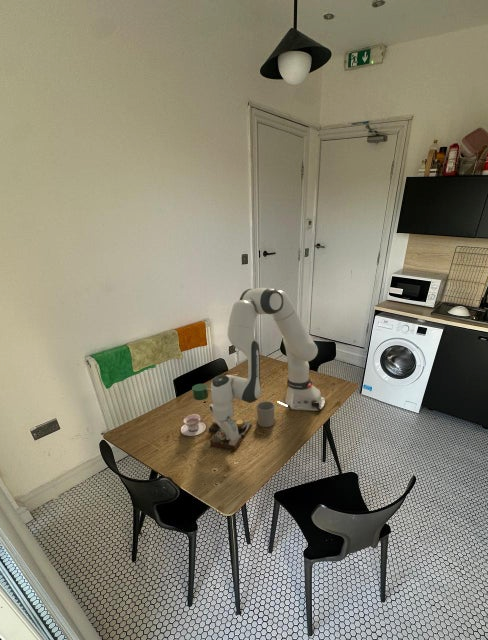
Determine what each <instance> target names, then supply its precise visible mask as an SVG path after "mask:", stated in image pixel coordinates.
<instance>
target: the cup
mask: <svg viewBox="0 0 488 640" xmlns="http://www.w3.org/2000/svg"><path fill="white" fill-rule="evenodd" d="M256 411H257V412H256V413H257V415H256V416H257V425H258V426H260V427H263V428H269V427H272V426H273V425H274V424H275V404H274V403H273V402H271V401H267V400H265V401H260V402H259V403H257V405H256Z"/></svg>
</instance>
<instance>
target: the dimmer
mask: <svg viewBox="0 0 488 640" xmlns="http://www.w3.org/2000/svg"><path fill="white" fill-rule="evenodd" d="M221 432H222V431H217V432H215V434H214V435H213V436H212V438H211V439H210V440H209V444H210V447H214V448H220V449H224V450H229V451H233V452H236V450H237V448H238V447H239V445H240V444H241V443H242V441H243V437H242V435H239V438H238V439H236V440H233V441H231V440H230V439H229V440H227V439H224V440H221V439H220V433H221Z"/></svg>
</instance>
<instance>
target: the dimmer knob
mask: <svg viewBox="0 0 488 640" xmlns="http://www.w3.org/2000/svg"><path fill="white" fill-rule="evenodd" d="M225 436H226V434H225V433H224V432H221V433H220V439H221V440H224V439H226V438H225Z"/></svg>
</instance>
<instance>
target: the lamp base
mask: <svg viewBox="0 0 488 640" xmlns="http://www.w3.org/2000/svg"><path fill="white" fill-rule="evenodd" d="M232 420H233V421H234V422H235V423H236V421H237V420H236V419H232ZM242 421H243V426H242V427H238V432H239V435H242V439H243V438H245V436H246V435H247V433H248V432H249V430H250V429H251V428H252V422H247V421H244V420H242ZM208 431H209V432H213V433H217V431H221V428H220V427H219V426H218V424H214V423H212V424H211V425H210V426H209V427H208Z"/></svg>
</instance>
